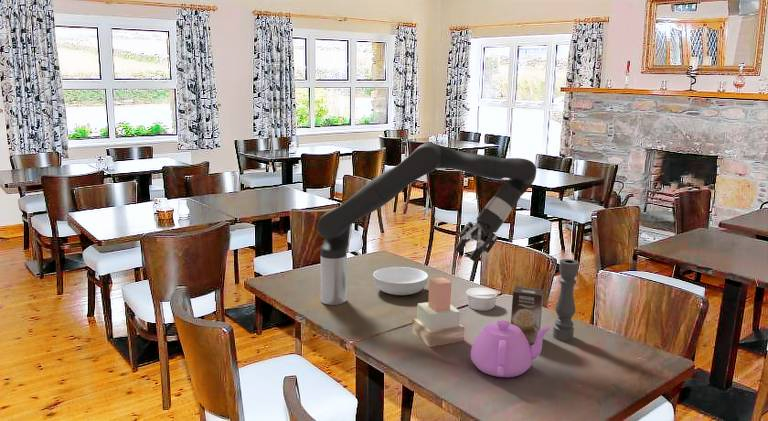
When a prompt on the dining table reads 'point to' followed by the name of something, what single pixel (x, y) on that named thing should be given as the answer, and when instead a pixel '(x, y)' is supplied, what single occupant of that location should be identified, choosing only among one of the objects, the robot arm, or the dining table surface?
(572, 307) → the candle holder
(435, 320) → the tower top block
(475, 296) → the ramekin
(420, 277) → the serving bowl
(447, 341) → the tower base block
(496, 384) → the dining table surface
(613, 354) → the dining table surface
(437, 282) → the terracotta block
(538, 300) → the coffee box
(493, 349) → the teapot
